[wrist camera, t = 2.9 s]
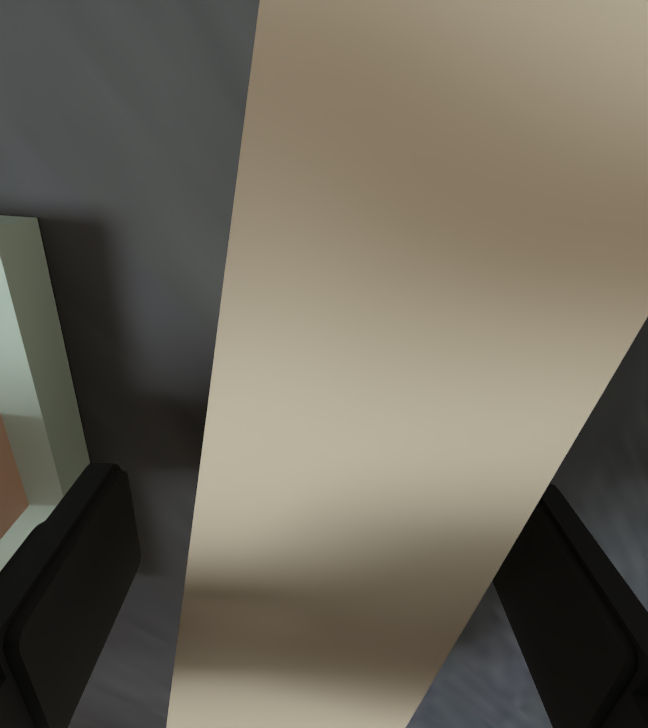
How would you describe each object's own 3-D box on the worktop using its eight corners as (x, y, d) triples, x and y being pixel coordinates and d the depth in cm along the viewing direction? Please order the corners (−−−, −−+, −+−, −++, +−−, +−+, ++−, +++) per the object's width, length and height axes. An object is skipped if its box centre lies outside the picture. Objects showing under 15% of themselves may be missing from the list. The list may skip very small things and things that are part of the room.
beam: (307, 15, 9) (289, -229, 3) (536, 81, 9) (852, -30, 4) (204, 626, 17) (151, 843, 12) (325, 642, 18) (329, 857, 12)
